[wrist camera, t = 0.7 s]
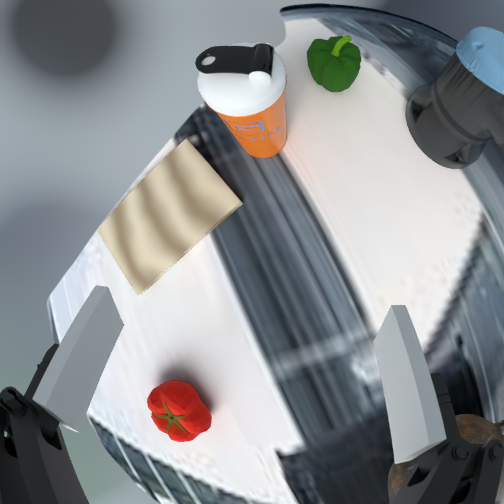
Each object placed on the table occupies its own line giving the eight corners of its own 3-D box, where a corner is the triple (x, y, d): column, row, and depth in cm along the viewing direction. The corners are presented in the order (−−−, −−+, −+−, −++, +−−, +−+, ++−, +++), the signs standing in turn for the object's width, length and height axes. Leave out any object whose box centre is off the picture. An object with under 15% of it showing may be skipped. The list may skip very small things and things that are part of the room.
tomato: (191, 368, 42) (174, 384, 36) (224, 420, 41) (213, 441, 35) (149, 384, 44) (130, 399, 37) (181, 432, 43) (167, 451, 36)
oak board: (189, 141, 43) (186, 138, 41) (242, 203, 41) (240, 201, 40) (102, 230, 45) (97, 230, 44) (142, 294, 44) (137, 295, 42)
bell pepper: (318, 103, 39) (320, 67, 29) (300, 67, 40) (298, 29, 30) (365, 94, 38) (377, 59, 28) (345, 59, 38) (351, 22, 28)
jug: (430, 487, 34) (467, 577, 4) (354, 480, 37) (368, 602, 7) (497, 398, 32) (579, 469, 3) (427, 379, 36) (524, 490, 6)
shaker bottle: (234, 116, 41) (190, 36, 22) (290, 110, 40) (278, 22, 20) (235, 166, 41) (184, 102, 22) (295, 162, 40) (287, 88, 20)
